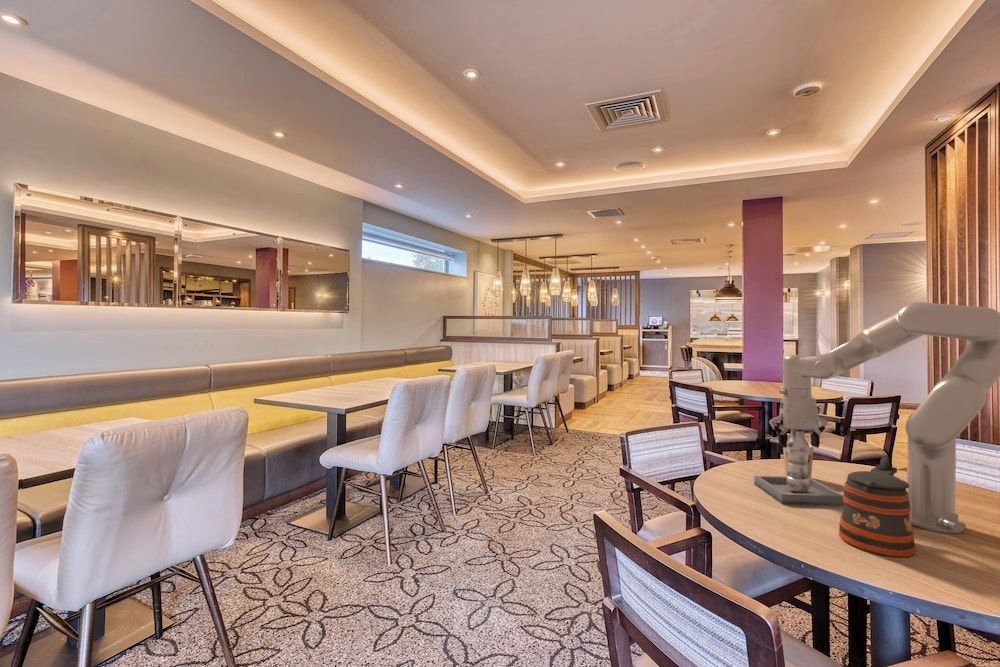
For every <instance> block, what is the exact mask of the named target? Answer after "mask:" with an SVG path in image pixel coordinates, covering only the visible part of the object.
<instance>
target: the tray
mask: <svg viewBox="0 0 1000 667" xmlns="http://www.w3.org/2000/svg"><path fill="white" fill-rule="evenodd" d="M753 478H754V485H755V486H756V487H757V486H758V487H757V488H759V489H760V490H761V491H764V492H765V493H766V494H768V495H769V496H770V497H771V498H772V499H774V500H775V501H777V502H779V504H781V505H797V506H798V505H799V506H824V507H825V506H826V507H827V506H828V507H829V506H830V507H843V505H844V501H843V493H842V494H841V493H840V492H838V491H836V490H834V489H832V488H831V487H829V486H827V485H825V484H823V483H822V482H819V481H818V480H816V479H814V478H812V477H811V478H810V477H808V478H809V483H810V488H809V491H808V492H806V493H799V492H794V491H791V490H789V489H788V487H787V485H786V476H782V475H781V476H780V475H779V476H778V475H777V476H776V475H775V476H773V475H754V476H753Z"/></svg>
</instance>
